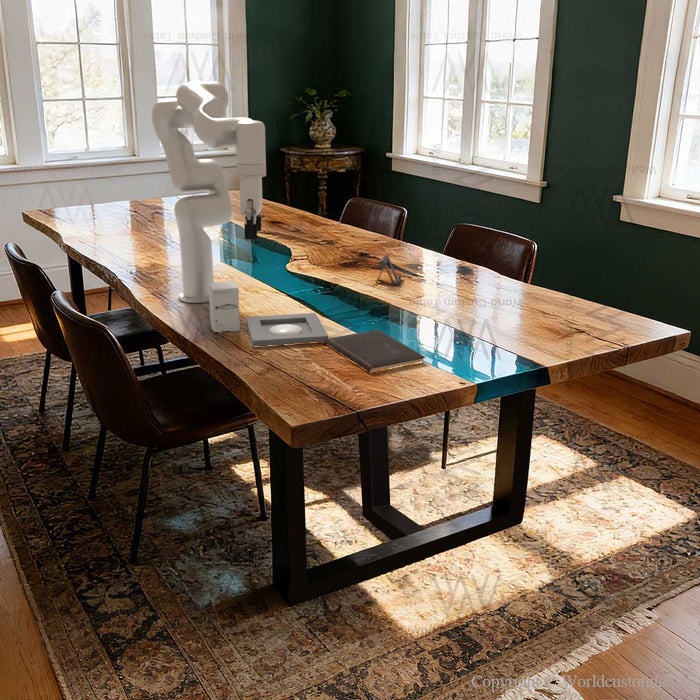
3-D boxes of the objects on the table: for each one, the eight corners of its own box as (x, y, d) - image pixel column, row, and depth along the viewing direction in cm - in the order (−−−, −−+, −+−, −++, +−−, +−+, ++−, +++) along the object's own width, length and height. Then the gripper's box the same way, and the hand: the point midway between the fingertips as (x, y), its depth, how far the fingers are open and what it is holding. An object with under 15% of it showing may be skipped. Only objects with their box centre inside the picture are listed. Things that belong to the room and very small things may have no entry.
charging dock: (245, 323, 225) (245, 317, 224) (315, 319, 229) (315, 313, 228) (253, 347, 206) (252, 340, 206) (328, 342, 210) (328, 335, 210)
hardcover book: (378, 337, 217) (378, 329, 216) (424, 365, 198) (425, 356, 197) (325, 346, 209) (325, 338, 209) (369, 376, 191) (369, 367, 190)
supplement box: (213, 333, 216) (211, 289, 212) (210, 325, 223) (207, 282, 219) (240, 331, 218) (238, 287, 214) (236, 323, 225) (234, 280, 221)
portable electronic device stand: (397, 286, 262) (398, 262, 259) (374, 285, 264) (375, 260, 261) (401, 279, 270) (402, 255, 267) (378, 278, 272) (379, 254, 269)
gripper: (241, 165, 214) (243, 227, 220) (232, 174, 198) (234, 242, 204) (269, 165, 214) (270, 228, 220) (262, 175, 198) (263, 242, 204)
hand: (253, 234), depth 212 cm, fingers open, 9 cm apart
